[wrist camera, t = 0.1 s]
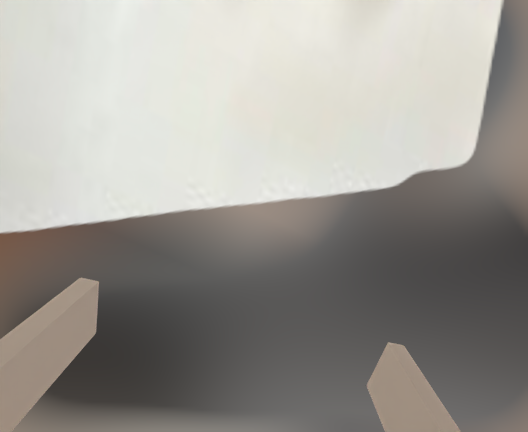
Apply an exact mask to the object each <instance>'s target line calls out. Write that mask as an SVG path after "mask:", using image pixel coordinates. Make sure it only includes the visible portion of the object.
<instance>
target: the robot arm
mask: <svg viewBox="0 0 528 432" xmlns="http://www.w3.org/2000/svg"><path fill="white" fill-rule="evenodd" d="M98 287H99V281H94V280H89V279H84V278H79V279H78V280H77V281H75V282H74V283H73V284H72V285H70V286H69V287H68V288H66V289H65V290H64V291H63V292H61V293H60V294H59V295H57V296H56V297H55V298H53V299H52V300H51V301H49V302H48V303H47V304H46V305H44V306H43V307H42V308H41V309H39V310H38V311H37V312H35V313H34V314H33V315H31V316H30V317H29V318H28V319H26V320H25V321H24V322H22V323H21V324H20V325H18V326H17V327H16V328H15V329H13V330H12V331H11V332H10V333H8V334H7V335H6V336H4V337H3V338H2V339H0V432H11V431H12V430H13V429H14V428H15V427H16V425H17V424H18V423H19V422H20V421H21V420H22V418H23V417H24V416H25V415H26V414H27V413H28V411H29V410H30V409H31V408H32V407H33V406H34V404H35V403H36V402H37V401H38V400H39V399H40V397H41V396H42V395H43V394H44V393H45V392H46V390H47V389H48V388H49V387H50V385H52V383H53V382H54V381H55V380H56V379H57V377H58V376H59V375H60V374H61V373H62V372H63V371H64V369H65V368H66V367H67V366H68V365H69V364H70V362H71V361H72V360H73V359H74V358H75V356H76V355H77V354H78V353H79V352H80V350H81V349H82V348H83V347H84V346H85V345H86V344H87V342H88V341H89V340H90V339H91V338H92V337H93V336H94V334H95V333H96V321H97V305H98ZM367 388H368V390H369V393H370V395H371V398H372V400H373V403H374V405H375V407H376V410H377V413H378V415H379V417H380V420H381V422H382V425H383V427H384V429H385V432H461V431H460V430H459V428H458V427H457V425H456V424H455V422H454V421H453V419H452V418H451V416H450V415H449V413H448V412H447V410H446V409H445V407H444V406H443V404H442V403H441V401H440V400H439V398H438V397H437V395H436V394H435V392H434V391H433V389H432V388H431V386H430V385H429V383H428V382H427V380H426V378H425V377H424V375H423V374H422V373H421V371H420V369H419V368H418V366H417V365H416V363H415V362H414V361H413V359H412V357H411V356H410V354H409V353H408V352H407V350H406V348H405V347H404V346H403V345H399V344H394V343H389V342H388V344H387V346H386V348H385V350H384V352H383V354H382V356H381V358H380V360H379V362H378V364H377V366H376V368H375V370H374V372H373V374H372V376H371V378H370V380H369V382H368V384H367Z"/></svg>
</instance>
